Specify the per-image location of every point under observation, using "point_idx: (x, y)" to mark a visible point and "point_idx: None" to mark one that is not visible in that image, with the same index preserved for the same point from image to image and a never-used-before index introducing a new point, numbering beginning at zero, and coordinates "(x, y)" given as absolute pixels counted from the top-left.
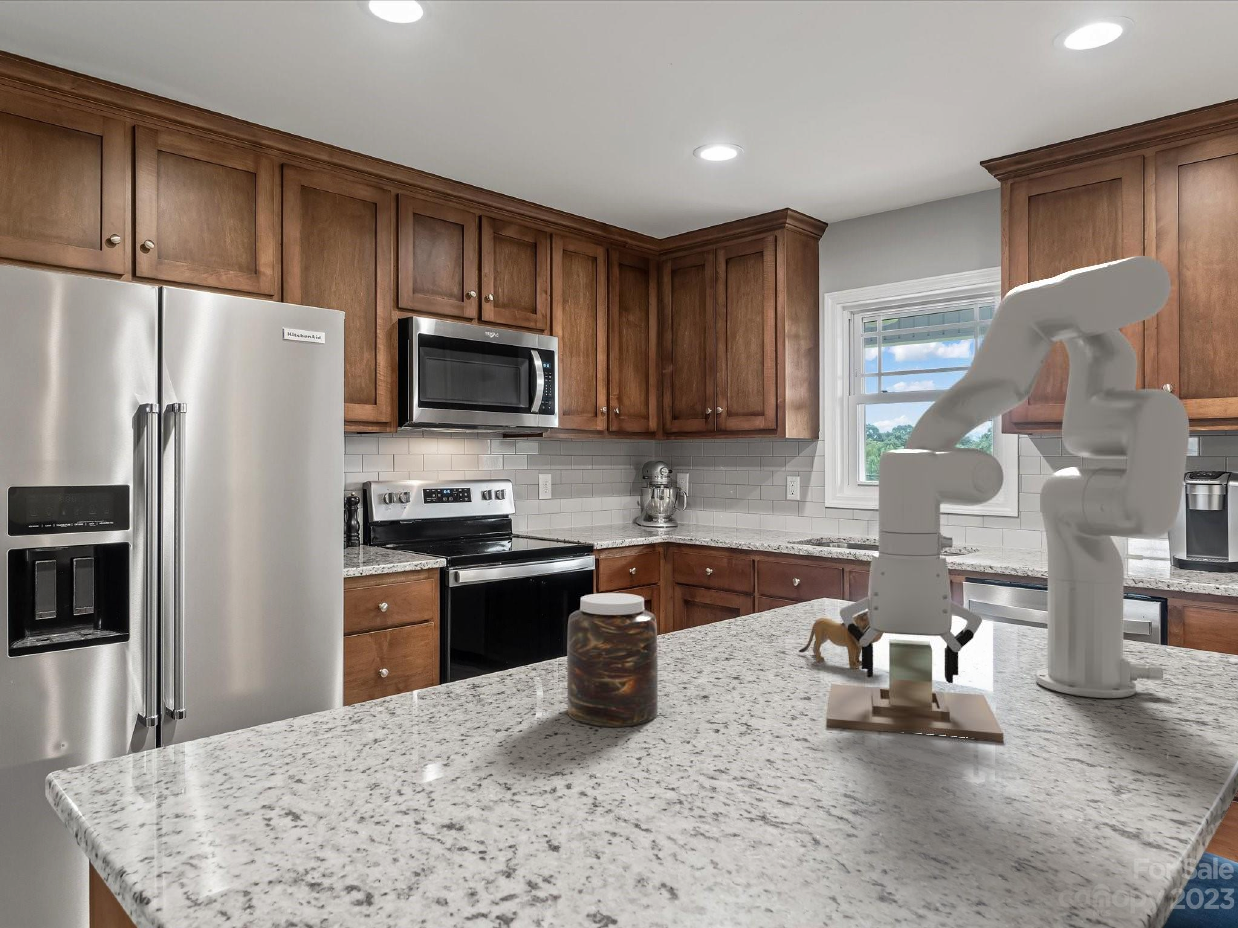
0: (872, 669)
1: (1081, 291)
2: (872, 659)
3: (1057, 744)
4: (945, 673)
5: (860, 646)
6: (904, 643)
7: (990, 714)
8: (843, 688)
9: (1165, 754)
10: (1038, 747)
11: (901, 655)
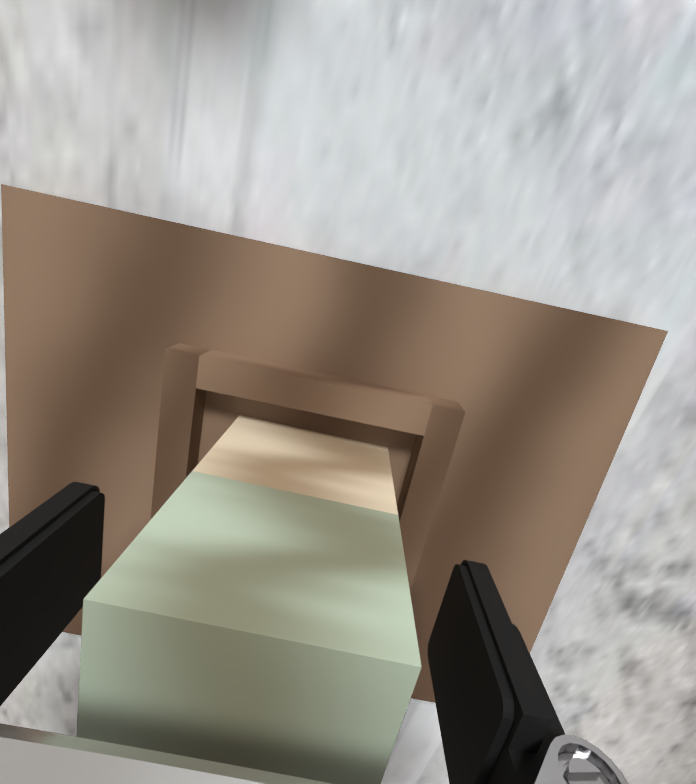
0: (73, 612)
1: None
2: (32, 664)
3: (633, 700)
4: (449, 614)
5: None
6: (193, 722)
7: (554, 568)
8: (61, 266)
9: None
10: (567, 718)
11: None
